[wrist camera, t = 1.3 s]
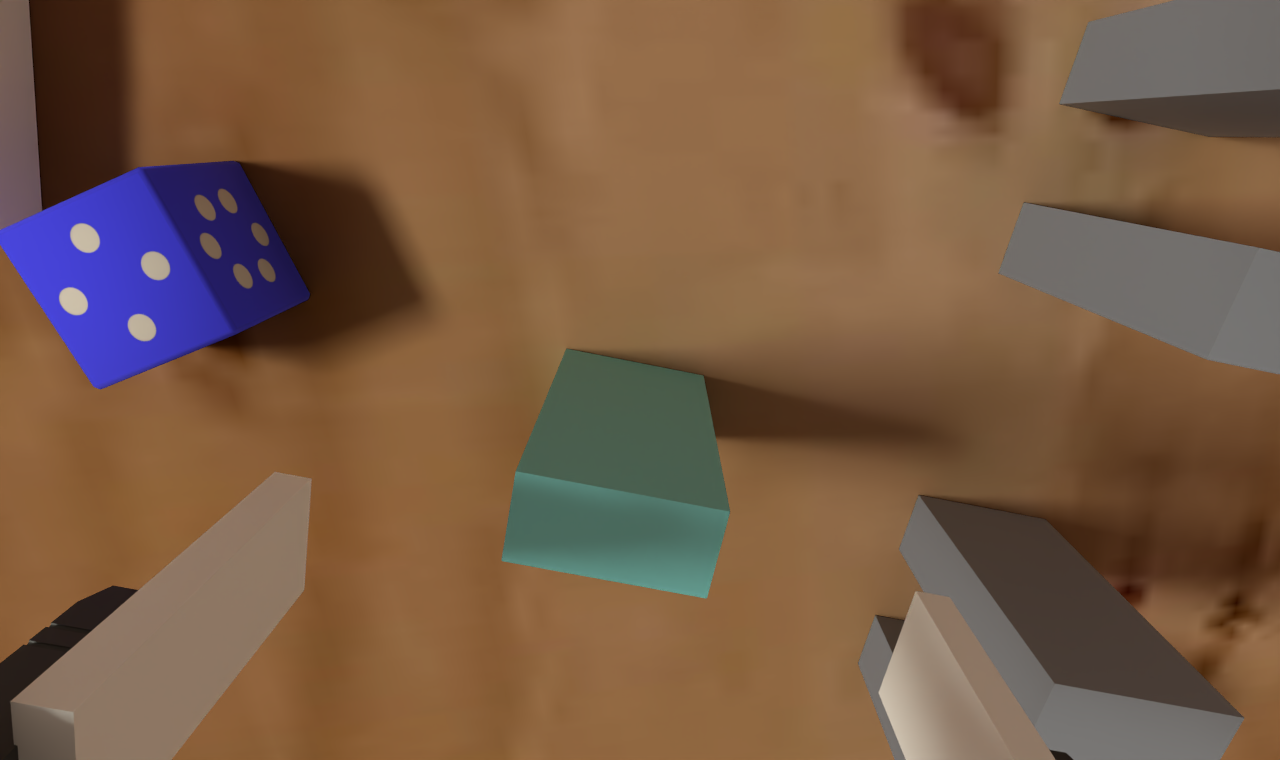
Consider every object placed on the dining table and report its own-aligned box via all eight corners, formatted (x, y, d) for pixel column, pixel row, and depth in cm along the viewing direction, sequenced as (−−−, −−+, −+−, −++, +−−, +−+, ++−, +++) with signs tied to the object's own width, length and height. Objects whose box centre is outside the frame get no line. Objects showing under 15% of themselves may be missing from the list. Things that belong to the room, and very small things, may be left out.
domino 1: (566, 348, 26) (515, 471, 17) (703, 375, 26) (729, 511, 17) (556, 410, 27) (501, 560, 17) (689, 435, 27) (706, 598, 18)
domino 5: (918, 494, 28) (1054, 683, 18) (1045, 519, 28) (1244, 717, 19) (898, 549, 29) (1019, 757, 19) (1022, 572, 29) (1202, 789, 19)
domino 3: (1088, 21, 23) (1403, -58, 13) (1243, 56, 23) (1662, 3, 13) (1059, 104, 23) (1336, 84, 14) (1208, 136, 24) (1582, 140, 14)
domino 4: (1023, 202, 24) (1258, 247, 15) (1168, 232, 24) (1490, 296, 15) (998, 273, 25) (1206, 359, 16) (1138, 301, 25) (1427, 404, 16)
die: (193, 346, 27) (93, 392, 22) (114, 214, 25) (-12, 233, 20) (314, 297, 26) (237, 333, 21) (239, 158, 24) (139, 165, 20)
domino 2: (875, 615, 30) (979, 843, 20) (994, 637, 30) (1153, 872, 20) (858, 663, 30) (950, 905, 21) (974, 684, 30) (1118, 933, 21)
